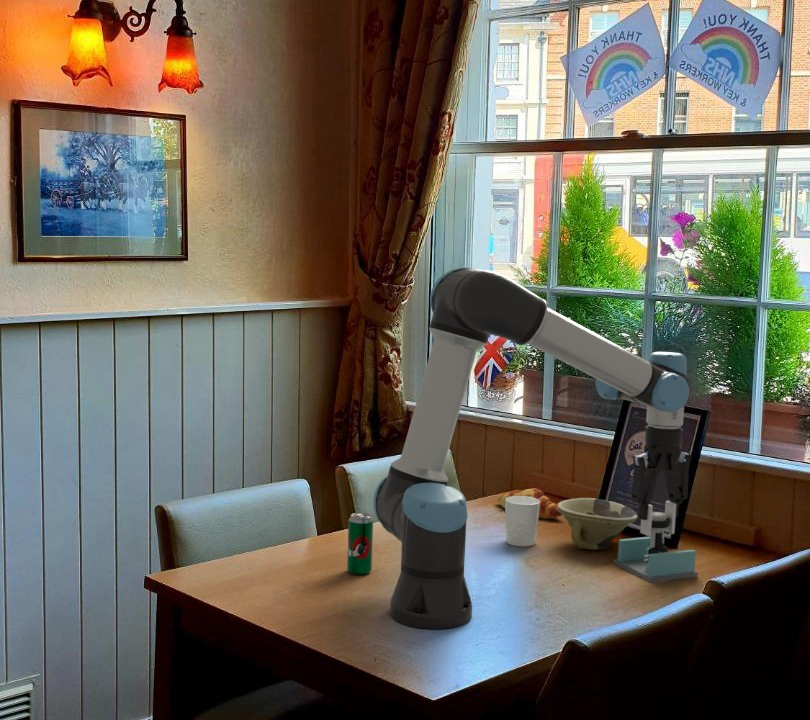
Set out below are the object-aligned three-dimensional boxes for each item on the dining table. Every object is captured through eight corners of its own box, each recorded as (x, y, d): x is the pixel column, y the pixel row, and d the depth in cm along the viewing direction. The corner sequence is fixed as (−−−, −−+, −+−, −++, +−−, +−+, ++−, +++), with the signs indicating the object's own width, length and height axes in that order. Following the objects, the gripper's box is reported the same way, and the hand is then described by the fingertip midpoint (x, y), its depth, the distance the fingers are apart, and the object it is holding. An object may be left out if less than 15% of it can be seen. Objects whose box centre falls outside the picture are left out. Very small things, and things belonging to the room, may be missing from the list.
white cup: (543, 541, 245) (545, 499, 244) (528, 549, 238) (530, 506, 237) (513, 535, 249) (515, 494, 248) (497, 543, 242) (499, 500, 241)
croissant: (490, 519, 276) (481, 494, 273) (512, 496, 282) (504, 472, 279) (555, 535, 261) (546, 510, 258) (577, 511, 267) (569, 485, 264)
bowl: (602, 564, 230) (605, 521, 228) (540, 544, 243) (542, 503, 242) (651, 550, 241) (653, 509, 240) (588, 531, 255) (591, 492, 253)
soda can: (376, 572, 219) (378, 515, 217) (359, 577, 215) (360, 520, 214) (359, 566, 222) (361, 510, 221) (341, 571, 218) (343, 515, 217)
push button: (654, 566, 222) (656, 519, 221) (634, 560, 226) (635, 514, 225) (673, 560, 226) (675, 514, 225) (653, 554, 230) (655, 509, 229)
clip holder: (650, 582, 218) (651, 556, 217) (614, 563, 230) (615, 539, 229) (697, 576, 223) (699, 551, 222) (659, 558, 235) (661, 534, 234)
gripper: (638, 430, 216) (631, 541, 218) (711, 427, 223) (703, 534, 226) (617, 424, 222) (610, 531, 225) (688, 421, 230) (681, 525, 232)
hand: (657, 532), depth 225 cm, fingers closed on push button, 5 cm apart
